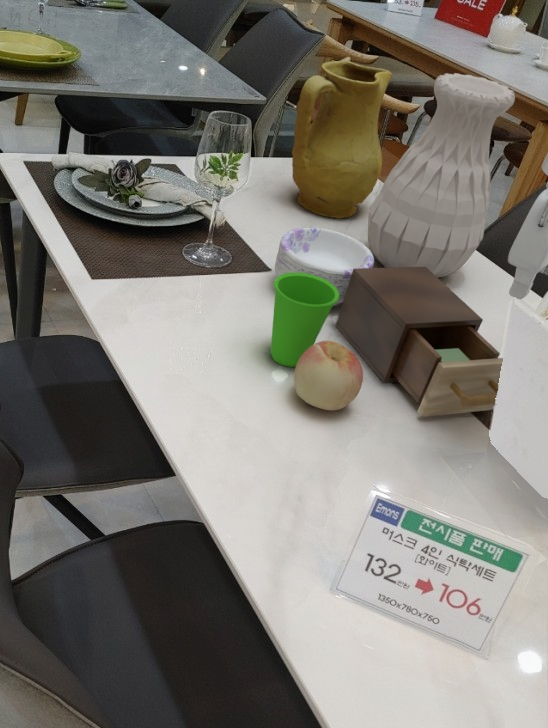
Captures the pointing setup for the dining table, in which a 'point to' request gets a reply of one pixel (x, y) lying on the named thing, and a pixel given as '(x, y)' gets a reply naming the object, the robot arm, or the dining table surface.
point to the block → (452, 355)
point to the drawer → (448, 370)
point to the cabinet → (396, 312)
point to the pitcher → (338, 138)
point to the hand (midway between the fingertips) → (531, 283)
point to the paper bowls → (322, 256)
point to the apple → (328, 376)
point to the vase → (441, 181)
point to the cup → (299, 314)
